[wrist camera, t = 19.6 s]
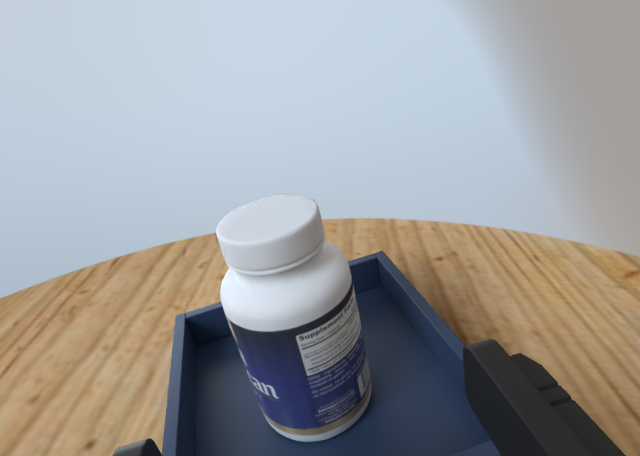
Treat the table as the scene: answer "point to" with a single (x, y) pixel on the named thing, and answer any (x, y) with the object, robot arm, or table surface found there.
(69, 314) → the table surface
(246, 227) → the pill bottle
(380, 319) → the blue tray
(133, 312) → the table surface
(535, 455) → the robot arm
